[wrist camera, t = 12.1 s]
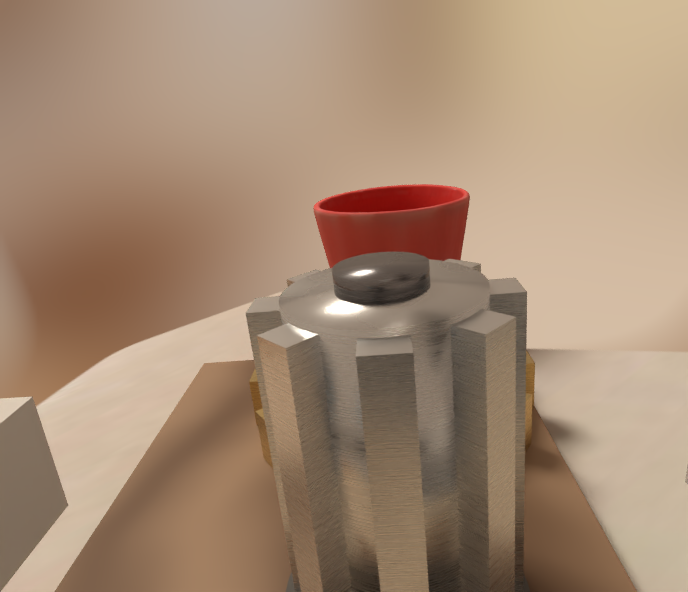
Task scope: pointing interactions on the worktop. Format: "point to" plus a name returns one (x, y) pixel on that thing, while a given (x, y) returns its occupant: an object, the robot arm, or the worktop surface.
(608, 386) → the worktop surface
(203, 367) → the gear board
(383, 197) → the flower pot
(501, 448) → the grey pinion
